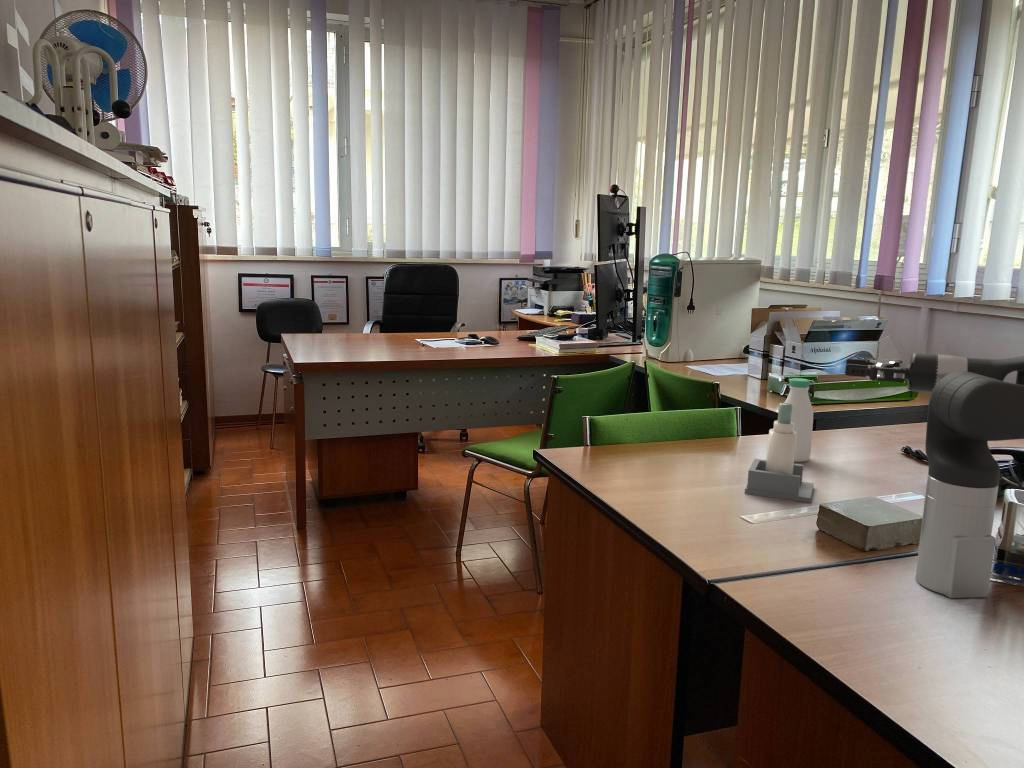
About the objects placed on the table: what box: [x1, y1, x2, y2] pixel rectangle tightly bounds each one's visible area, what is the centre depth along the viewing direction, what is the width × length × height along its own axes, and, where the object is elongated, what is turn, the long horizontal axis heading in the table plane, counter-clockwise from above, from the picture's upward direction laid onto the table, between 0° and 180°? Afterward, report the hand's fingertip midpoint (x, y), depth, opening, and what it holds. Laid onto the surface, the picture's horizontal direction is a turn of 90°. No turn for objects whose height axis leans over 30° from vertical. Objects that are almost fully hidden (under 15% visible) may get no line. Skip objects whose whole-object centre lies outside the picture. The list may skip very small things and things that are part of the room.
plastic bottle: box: [765, 402, 797, 475], centre depth 158 cm, size 6×6×18 cm
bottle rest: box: [744, 458, 815, 504], centre depth 159 cm, size 11×13×5 cm
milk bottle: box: [783, 377, 814, 463], centre depth 183 cm, size 8×8×20 cm
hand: (845, 366), depth 150 cm, fingers open, 8 cm apart
